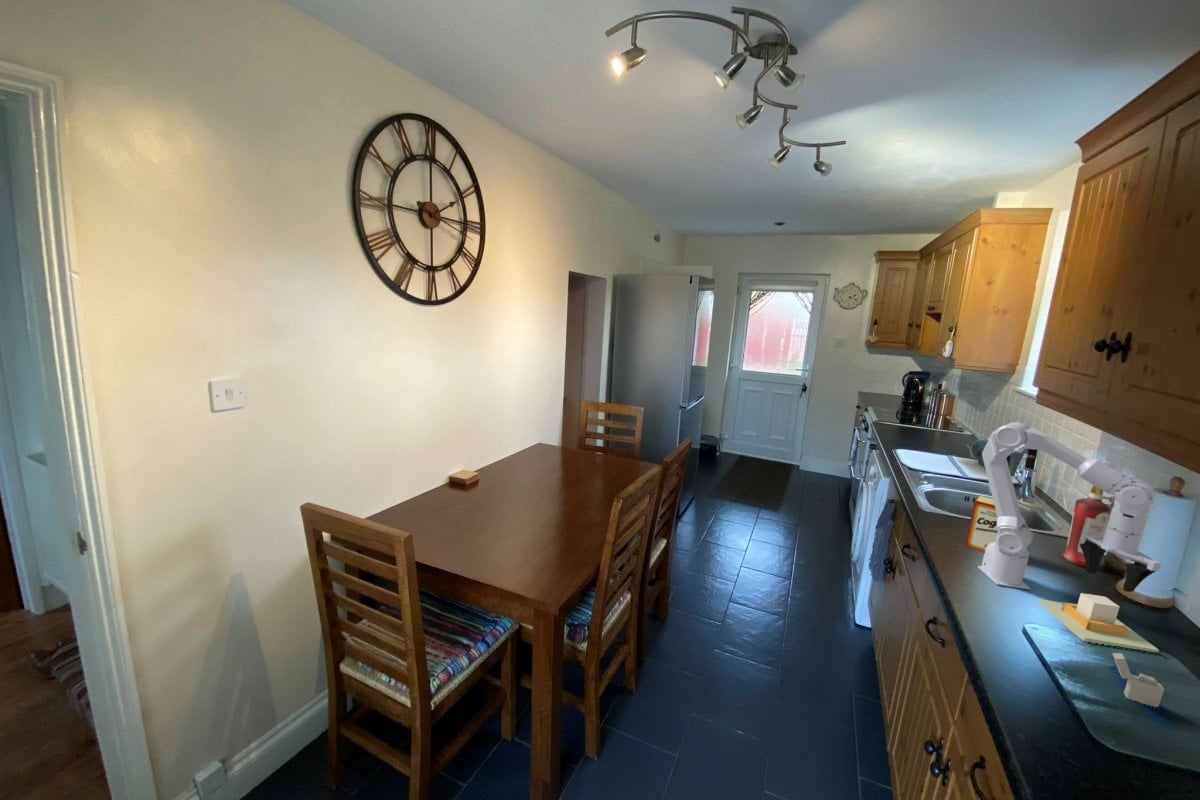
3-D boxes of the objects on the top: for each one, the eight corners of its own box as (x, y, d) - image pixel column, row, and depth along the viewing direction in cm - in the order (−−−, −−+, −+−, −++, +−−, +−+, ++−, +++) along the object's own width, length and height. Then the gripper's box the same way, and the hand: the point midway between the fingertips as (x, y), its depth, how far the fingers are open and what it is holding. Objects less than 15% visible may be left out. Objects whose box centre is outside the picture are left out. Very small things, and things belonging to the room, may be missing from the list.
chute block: (1074, 615, 114) (1080, 593, 113) (1098, 619, 113) (1105, 596, 112) (1087, 625, 111) (1094, 602, 109) (1112, 629, 110) (1119, 606, 108)
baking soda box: (964, 546, 150) (975, 499, 147) (968, 540, 154) (979, 494, 151) (1002, 558, 143) (1014, 509, 140) (1005, 552, 147) (1017, 504, 144)
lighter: (1154, 703, 89) (1166, 666, 88) (1158, 709, 88) (1170, 672, 86) (1101, 685, 93) (1112, 650, 92) (1104, 691, 92) (1115, 655, 90)
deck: (1037, 602, 121) (1040, 591, 120) (1101, 612, 118) (1104, 601, 118) (1083, 641, 106) (1087, 630, 106) (1157, 653, 104) (1161, 642, 103)
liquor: (1076, 556, 147) (1099, 472, 142) (1101, 569, 140) (1127, 480, 135) (1053, 555, 147) (1076, 470, 141) (1077, 568, 140) (1102, 479, 134)
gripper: (1076, 516, 119) (1062, 565, 121) (1149, 545, 104) (1132, 600, 107) (1099, 516, 120) (1085, 565, 122) (1174, 545, 105) (1157, 599, 108)
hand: (1109, 581), depth 115 cm, fingers open, 7 cm apart
